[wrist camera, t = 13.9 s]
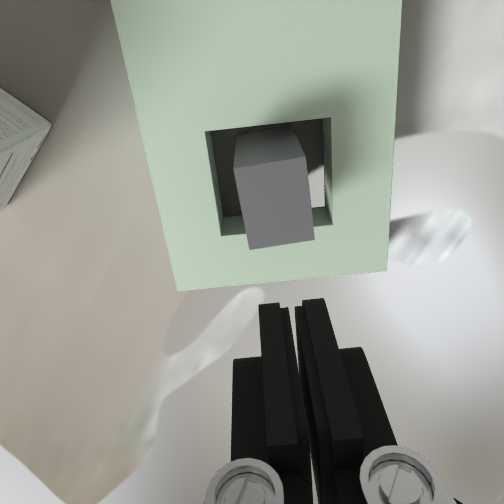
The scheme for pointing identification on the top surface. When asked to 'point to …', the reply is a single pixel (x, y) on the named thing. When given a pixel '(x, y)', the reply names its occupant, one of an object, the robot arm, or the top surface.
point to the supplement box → (17, 142)
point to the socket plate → (265, 123)
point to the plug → (273, 188)
